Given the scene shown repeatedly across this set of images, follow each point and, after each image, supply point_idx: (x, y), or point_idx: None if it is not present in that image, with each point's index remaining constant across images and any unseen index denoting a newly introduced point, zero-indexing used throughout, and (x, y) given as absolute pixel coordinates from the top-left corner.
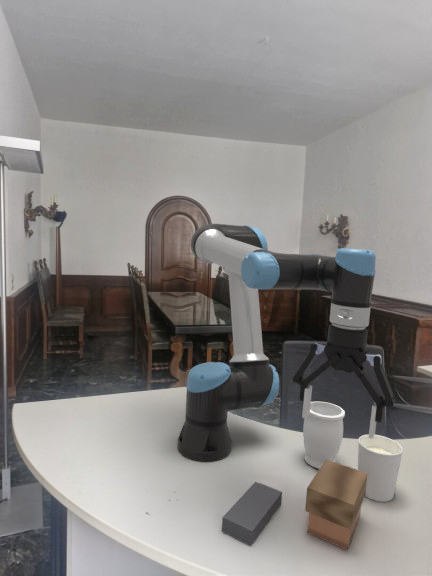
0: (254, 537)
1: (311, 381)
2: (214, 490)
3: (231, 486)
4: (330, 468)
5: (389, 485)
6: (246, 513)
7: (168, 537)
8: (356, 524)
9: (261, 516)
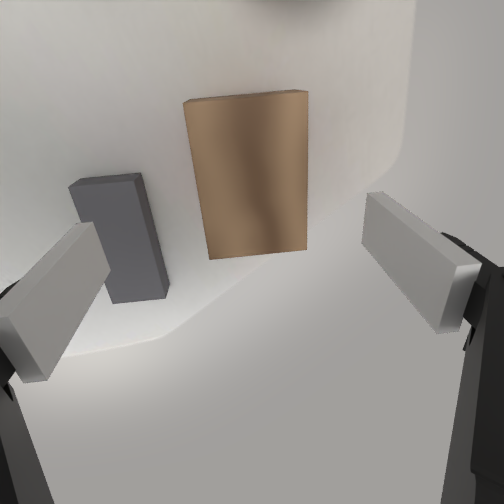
0: (166, 280)
1: (28, 432)
2: (23, 223)
3: (31, 190)
4: (215, 145)
5: None
6: (131, 275)
7: (82, 336)
8: None
9: (153, 265)
